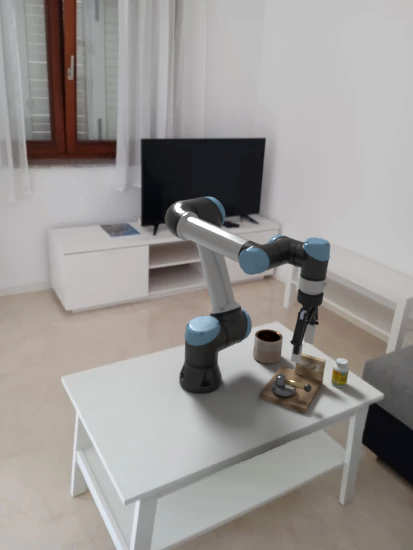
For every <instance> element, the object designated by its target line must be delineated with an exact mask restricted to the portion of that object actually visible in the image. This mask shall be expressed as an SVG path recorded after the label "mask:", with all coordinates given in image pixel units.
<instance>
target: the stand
mask: <svg viewBox="0 0 413 550" xmlns="http://www.w3.org/2000/svg"><path fill="white" fill-rule="evenodd" d="M325 367H326V359H324V358H320V357H317V356H313V355H309V354H306V353H303V352H302V354H301V361H300V364H298V363H295V367H294V368H293V369H292V368H290V367H286V366H284V365H283V366H282V365H280V366H279V368H278V369H277V371H276V372H274V374H273V376H271V378H270V380H269V381H268V382H267V383H266V384H265V386H264V388H263V389H262V390H261V391H260V392H259V399H261V400H264V401H267V402H270V403H273V404H274V405H275V404H276V405H277V406H278V405H279V406H281V407H284V408H288V409H290V410H292V411H296V412H298V413H300V414H306V413H307V411H308V410H309V408H310V407H311V404H312V403H313V401H314V399H315V397H316V396H317V394H318V392H319V391H320V389H321V387H322V386H323V382H324V375H325ZM277 374H283V375H285V377H286V378H287V379H290V380H293V381H296V382H300V383H303V384H310V385H311V387H312V389H311V391H310V392H306V391H305V390H303V389H300V388H297V387H296V392H295V395H294V396H293V397H291V398H281V397H278V396H276V395H275V394H273V392H272V384H273V382H275V381H276V375H277Z"/></svg>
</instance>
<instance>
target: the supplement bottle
mask: <svg viewBox="0 0 413 550" xmlns="http://www.w3.org/2000/svg"><path fill="white" fill-rule="evenodd" d="M348 364H349V361H348V360H347V359H346V358H342V357H338V358H336V361H335V363H334V364H333V367H332V373H331V379H330V380H331V383H330V384H332V386H333V387H336V388H338V389H340V388H342V389H343V388H345V387H346V386H347V383H348V375H349V371H350V368H349V365H348Z"/></svg>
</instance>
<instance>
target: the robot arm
mask: <svg viewBox="0 0 413 550" xmlns="http://www.w3.org/2000/svg"><path fill="white" fill-rule="evenodd" d="M225 219H226V211H225V208H224V205H223V204H222V203H221V202H220V201H219V200H218V199H216V197H214V196H213V197H212V196H201V197H194V198H190V199H185V200H178V201H175V202H174V203H172V204H171V205H170V206H169V207H168V208H167V210H166V213H165V216H164V223H165V227H166V228H167V230H168V231H169V232H170V234H171V235H173V236H174V237H176V238H178V239H180V240H182V241H189V240H190V241H191V242H193V243H196V247H197V250H198V255H199V259H200V262H201V267H202V271H203V274H204V279H205V283H206V288H207V291H208V295H209V298H210V303H211V308H210V310H209V312H208V313H209V315H204V316H203V315H199V316H195V317H194V318H192V319H190V320H189V321H188V322H187V323H186V327H185V332H184V362H183V364H182V367H181V370H180V372H179V378H178V381H179V385H180V386H181V387H182V388H183V389H184V390H186V391H188V392H190V393H195V394H208V393H211V392H215V391H216V390H217V389H219V388H220V387H221V385H222V383H223V381H222V380H223V378H222V377H223V376H222V372H221V369H220V368H221V367H220V365H219V352H221V351H223V350H225V349H227V348H230V347H231V346H234V345H236V344H239V343H241V342H243V341H244V340H246V339H247V338H248V337H249V336H250V334H251V332H252V329H253V328H252V327H253V325H252V318H251V316H250V314H249V313H248V312H247V310H246V309H244V308H242V305H241V304H240V303H239V302H237V301H236V298H235V295H234V289H233V286H232V282H231V277H230V274H229V270H228V266H227V262H226V258H227V259H230V260H232V261H234V262H237V263H238V264H239V267H240V269H241V270H242V271H243V272H244V273H245V274H246V275H249V276H252V275H258V274H259V275H260V274H262V273H265V272H266V271H269V270H272V269H275V268H278V267H280V266H281V267H282V266H284V265H290V266H294V267H296V268H300V271H299V272H300V274H299V278H298V279H299V281H298V285H297V286H298V289H297V296H296V301H297V302H298V304H300V305H301V306H302V307H300V310H299V311H298V312H297V319H296V323H295V325H294V326H295V327H294V330H293V334H292V339H291V340H290V341H289V342H290V344H291V345H292V351H291V359H290V361H291V362H292V363H295V364H296V363H298V364H300V361H301V354H302V353H303V346H304V344H303V341H304V343H306V344H309V345H310V344H311V345H313V344H314V339H315V332H316V326H318V325H319V321H318V320H319V307H320V306H321V305H322V304H323V302H324V301H323V300H324V294H325V293H324V291H325V287H327V286H328V283H327V282H326V279H327V271H328V267H329V261H330V258H331V244H330V243H331V242H329V241H328V240H327V239H324V238H320V237H309V238H306V239H305V240H304V242H303V241H301V240H298V239H295V238H293V237H289V236H287V235H282V234H274V235H273V236H272V237H271V238H270V239H268V241H267V243H263V244H260V243H258V242H255V241H252V240H250V239H249V238H246V237H243V236H241V235H238V234H237V233H234V232H232V231H229V230H227V229H225V228H222V227H223V225H224V223H225ZM225 257H226V258H225Z"/></svg>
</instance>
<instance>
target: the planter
mask: <svg viewBox="0 0 413 550" xmlns="http://www.w3.org/2000/svg"><path fill="white" fill-rule="evenodd" d="M283 340H284V337H283V334H282V333H281V332H280V331H278V330H274V329H268V328H267V329H265V328H264V329H260V330H258V331H256V332H255V334H254V340H253V341H254V342H253V350H252V351H253V352H252V355H253V358H254V360H256V361H257V362H259V363H263V364H268V365H269V364H270V365H272V364H275V363H278V362H279V361H280V360H281V357H282V351H283V350H282V348H283Z"/></svg>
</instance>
